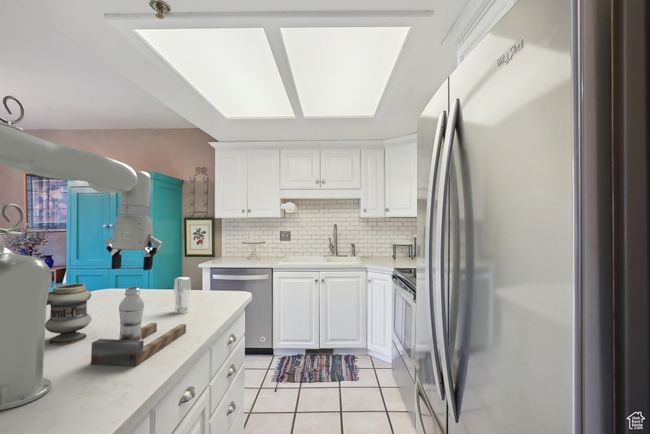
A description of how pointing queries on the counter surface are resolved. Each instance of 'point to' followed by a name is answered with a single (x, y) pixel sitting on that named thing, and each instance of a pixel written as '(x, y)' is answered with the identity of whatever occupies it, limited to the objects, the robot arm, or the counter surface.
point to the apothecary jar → (68, 313)
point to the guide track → (132, 347)
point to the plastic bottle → (131, 315)
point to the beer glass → (182, 294)
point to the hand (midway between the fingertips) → (131, 269)
